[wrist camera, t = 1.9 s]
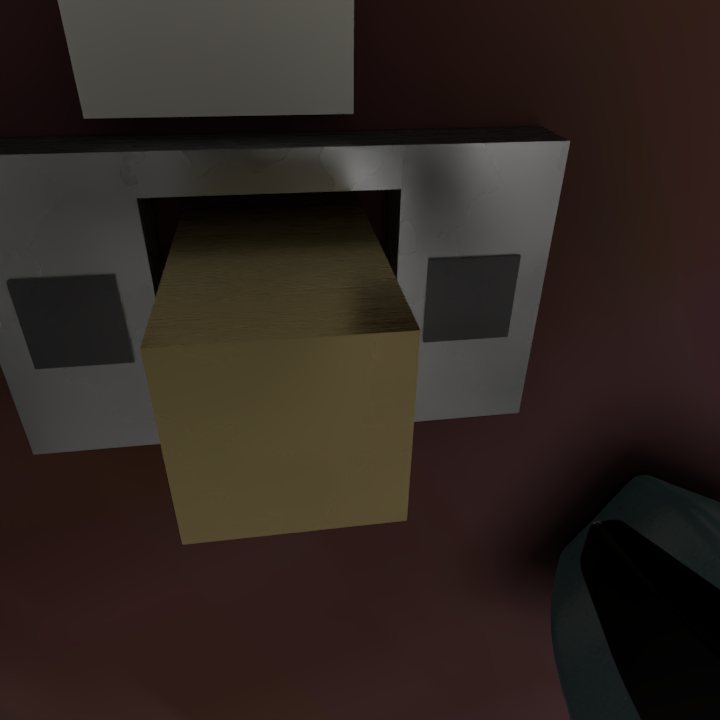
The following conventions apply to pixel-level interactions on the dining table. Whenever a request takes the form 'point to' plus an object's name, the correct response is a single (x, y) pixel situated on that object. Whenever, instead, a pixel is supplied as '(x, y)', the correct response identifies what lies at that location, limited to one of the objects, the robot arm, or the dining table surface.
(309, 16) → the pad
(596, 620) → the flower pot
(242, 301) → the brown wooden block
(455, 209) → the grey flat frame
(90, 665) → the dining table surface
